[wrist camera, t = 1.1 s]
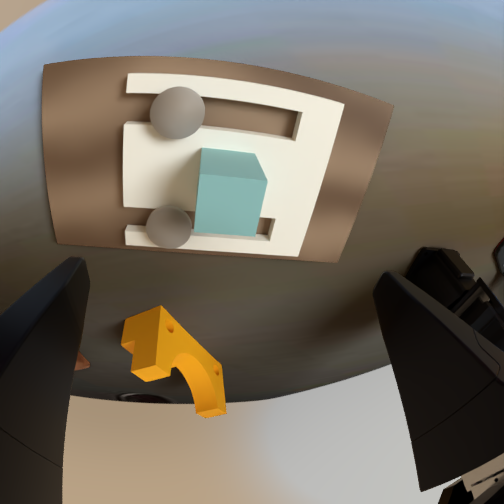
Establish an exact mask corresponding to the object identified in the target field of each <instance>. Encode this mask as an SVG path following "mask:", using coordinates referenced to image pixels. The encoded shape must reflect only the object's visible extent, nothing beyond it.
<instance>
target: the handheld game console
mask: <svg viewBox="0 0 504 504" xmlns="http://www.w3.org/2000/svg"><path fill="white" fill-rule="evenodd" d="M494 253H495V257H496V260H497V263H498V266H499V270H500V272H501V273H502V275H503V276H504V239H503V240H502V241H501V242H500V243H499V244H498V246H497V247H496V249H495V252H494Z"/></svg>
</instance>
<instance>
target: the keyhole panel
mask: <svg viewBox="0 0 504 504" xmlns="http://www.w3.org/2000/svg"><path fill="white" fill-rule="evenodd" d="M177 86H182V87H187V88H190V89H192V90H194V91H195V92H197V93H198V94H199V95H200V96H203V97H212V98H221V99H229V100H237V101H244V102H251V103H257V104H263V105H269V106H274V107H279V108H285V109H290V110H294V111H298V115H297V119H296V123H295V127H294V131H293V135H292V138H290V137H284V136H278V135H272V134H266V133H260V132H253V131H246V130H239V129H231V128H222V127H213V126H203V125H201V126H200V128H199V129H198V130H197V131H196V132H195V133H194V134H192V135H191V136H189V137H186V138H183V139H169V138H166V137H164V136H162V135H160V134H159V133H158V132H157V131H156V130H155V129H154V127H153V125H152V123H151V122H135V121H127V122H126V123H125V124H124V135H123V204H124V207H137V208H153V209H157V208H159V207H161V206H175V207H178V208H180V209H182V210H184V211H195V222H194V229H191V235H190V238H189V240H188V241H187V242H186V243H185V244H184V245H182V246H180V247H178V248H177V249H192V250H206V251H221V252H236V253H251V254H266V255H280V256H295V257H298V255H299V252H300V249H301V246H302V243H303V240H304V237H305V234H306V231H307V228H308V225H309V222H310V219H311V216H312V213H313V210H314V206H315V203H316V200H317V197H318V194H319V191H320V187H321V184H322V181H323V178H324V174H325V171H326V168H327V164H328V161H329V158H330V154H331V151H332V147H333V144H334V140H335V137H336V134H337V130H338V126H339V123H340V119H341V116H342V112H343V108H344V105H345V104H343V103H340V102H337V101H333V100H330V99H326V98H323V97H319V96H315V95H311V94H307V93H303V92H298V91H294V90H289V89H285V88H280V87H275V86H270V85H264V84H259V83H253V82H247V81H240V80H233V79H225V78H217V77H208V76H197V75H184V74H166V73H129V74H128V79H127V89H126V93H157V94H160V93H162V92H163V91H165V90H167V89H169V88H172V87H177ZM260 217H264V218H272V220H271V224H270V228H269V232H268V235H262V234H256V231H257V226H258V222H259V218H260ZM125 239H126V245H133V246H148V247H159V246H157V245H155V244H154V243H153V242H152V241H151V240H150V239H149V237H148V235H147V233H146V226H141V225H127V227H126V230H125Z"/></svg>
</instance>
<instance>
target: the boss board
mask: <svg viewBox="0 0 504 504" xmlns="http://www.w3.org/2000/svg"><path fill="white" fill-rule="evenodd" d="M129 73H166V74H184V75H197V76H208V77H217V78H225V79H233V80H240V81H247V82H253V83H259V84H264V85H270V86H275V87H280V88H285V89H289V90H294V91H298V92H303V93H307V94H311V95H315V96H319V97H323V98H326V99H330V100H333V101H337V102H340V103H343V104H345V105H344V108H343V112H342V116H341V119H340V123H339V126H338V130H337V134H336V137H335V140H334V144H333V147H332V151H331V154H330V158H329V161H328V164H327V168H326V171H325V174H324V178H323V181H322V184H321V187H320V191H319V194H318V197H317V200H316V203H315V206H314V210H313V213H312V216H311V219H310V222H309V225H308V228H307V231H306V234H305V237H304V240H303V243H302V246H301V249H300V252H299V255H298V257H295V256H280V255H266V254H251V253H236V252H221V251H206V250H192V249H177V248H178V247H180V246H182V245H184V244H185V243H186V242H187V241H188V240H189V238H190V235H191V229H194V222H195V211H184V210H182V209H180V208H178V207H175V206H161V207H159V208H157V209H153V208H137V207H124V204H123V135H124V124H125V123H126V122H127V121H135V122H151V123H152V125H153V127H154V129H155V130H156V131H157V132H158V133H159V134H160V135H162V136H164V137H166V138H169V139H183V138H186V137H189V136H191V135H192V134H194V133H195V132H196V131H197V130H198V129H199V128H200V126H201V125H203V126H213V127H222V128H231V129H239V130H246V131H253V132H260V133H266V134H272V135H278V136H284V137H290V138H292V135H293V131H294V127H295V123H296V119H297V115H298V111H294V110H290V109H285V108H279V107H274V106H269V105H263V104H257V103H251V102H244V101H237V100H229V99H221V98H212V97H203V96H200V95H199V94H198V93H197V92H195V91H194V90H192V89H190V88H187V87H182V86H177V87H172V88H169V89H167V90H165V91H163V92H162V93H160V94H157V93H126V89H127V79H128V74H129ZM393 109H394V105H391V104H389V103H386V102H384V101H381V100H379V99H376V98H373V97H370V96H368V95H365V94H362V93H359V92H356V91H353V90H350V89H347V88H344V87H341V86H337V85H334V84H331V83H327V82H324V81H320V80H317V79H313V78H309V77H305V76H301V75H297V74H293V73H288V72H284V71H279V70H274V69H269V68H264V67H259V66H253V65H247V64H240V63H233V62H226V61H218V60H209V59H198V58H185V57H164V56H124V57H104V58H91V59H81V60H72V61H64V62H57V63H51V64H45V65H44V68H43V85H42V133H43V150H44V163H45V173H46V181H47V189H48V196H49V203H50V209H51V215H52V220H53V225H54V230H55V235H56V240H57V244H67V245H81V246H94V247H108V248H122V249H137V250H151V251H165V252H180V253H195V254H210V255H225V256H240V257H256V258H271V259H287V260H303V261H319V262H335V263H337V262H338V260H339V258H340V255H341V253H342V251H343V248H344V246H345V243H346V241H347V239H348V236H349V234H350V231H351V229H352V226H353V224H354V221H355V219H356V216H357V214H358V211H359V209H360V206H361V203H362V201H363V198H364V195H365V193H366V190H367V187H368V185H369V182H370V179H371V176H372V174H373V171H374V168H375V165H376V162H377V159H378V156H379V153H380V150H381V147H382V144H383V141H384V138H385V135H386V132H387V129H388V125H389V122H390V119H391V116H392V112H393ZM271 220H272V218H264V217H260V218H259V222H258V226H257V231H256V234H262V235H268V232H269V228H270V224H271ZM127 225H141V226H146V233H147V235H148V237H149V239H150V240H151V241H152V242H153V243H154V244H155V245H157V246H159V247H148V246H133V245H126V239H125V230H126V227H127Z"/></svg>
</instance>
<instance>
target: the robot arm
mask: <svg viewBox="0 0 504 504" xmlns="http://www.w3.org/2000/svg"><path fill="white" fill-rule="evenodd" d="M473 278H474V273H473V271H472V270H471V269H470V268H469V267H468V265H467V264H466V263H465V262H464V261H463V260H462V258H461V257H460V254H459V253H458V252H457V251H454V250H450V249H442V248H441V249H435V248H427V247H425V248H423V249H422V250H421V251H420V253H419V255H418V257H417V259H416V261H415V262H414V264H413V266H412V268H411V269H410V271H409V273H408V275H407V276H406V278H404V277H403V276H401V275H400V274H399V273H397V272H395V271H384V272H383V273H382V274H381V276H380V278H379V280H378V282H377V284H376V285H375V287H374V289H373V298H374V302H375V306H376V310H377V315H378V319H379V323H380V327H381V332H382V336H383V339H384V342H385V345H386V348H387V352H388V355H389V358H390V361H391V365H392V368H393V371H394V375H395V378H396V382H397V386H398V389H399V393H400V397H401V401H402V404H403V408H404V412H405V416H406V421H407V425H408V429H409V433H410V438H411V441H412V442H411V443H412V449H413V454H414V459H415V464H416V470H417V475H418V481H419V488H420V491H421V492H423V491H426V490H428V489H431V488H433V487H436V486H439V485H441V484H443V483H446V482H448V481H451V480H453V479H455V478H457V477H459V476H461V478H460V479H459V480H457V481H456V482H454V483H453V484H451V485H449V486H448V487H447V488H445V489H443V492H442V494H441V497H440V500H439V502H438V504H504V307H503V306H502V304H501V303H500V302H499V300H498V299H497V298H496V296H495V295H494V294H493V292H492V291H491V290H490V289H489V287H488V286H487V285H486V284H485V282H484V281H483V280H482V279H481V278H480V277H479V279H478V280H477V282H475V281H474V279H473ZM89 289H90V280H89V275H88V271H87V266H86V262H85V259H84V258H83V257H75V256H71V257H69V258H68V259H66V260H65V261H64V262H62V263H61V264H60V265H59V266H57V267H56V268H55V269H54V270H52V271H51V272H50V273H49V274H47V275H46V276H45V277H44V278H42V279H41V280H40V281H39V282H38V283H36V284H35V285H34V286H33V287H32V288H31V289H29V290H28V291H27V292H26V293H25V294H24V295H22V296H21V297H20V298H19V299H18V300H17V301H16V302H15V303H13V304H12V305H11V306H10V307H9V308H8V309H7V310H6V311H5V312H4V313H2V314H1V315H0V504H62V477H63V476H62V475H63V468H62V467H63V453H64V452H63V451H64V441H65V430H66V422H67V414H68V406H69V400H70V393H71V387H72V382H73V376H74V371H75V366H76V361H77V356H78V352H79V347H80V343H81V338H82V333H83V326H84V319H85V312H86V306H87V300H88V294H89ZM489 298H490V301H489V302H488V301H487V300H488V299H489Z"/></svg>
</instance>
